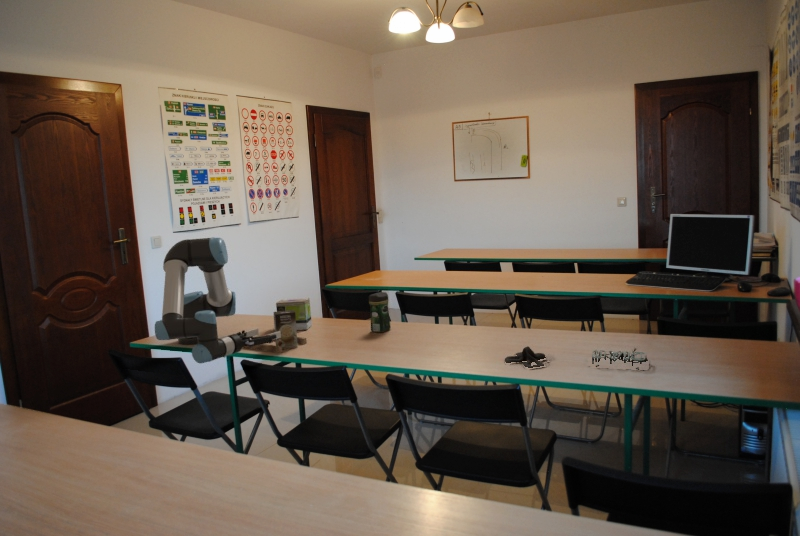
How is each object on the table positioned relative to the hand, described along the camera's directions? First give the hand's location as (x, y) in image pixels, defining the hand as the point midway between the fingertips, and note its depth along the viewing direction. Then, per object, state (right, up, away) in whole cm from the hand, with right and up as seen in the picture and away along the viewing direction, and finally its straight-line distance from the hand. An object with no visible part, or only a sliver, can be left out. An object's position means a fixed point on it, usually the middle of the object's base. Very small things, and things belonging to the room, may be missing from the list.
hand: (268, 332), depth 250 cm
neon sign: (+138, -6, -33) cm, 142 cm away
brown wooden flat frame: (0, -7, +14) cm, 15 cm away
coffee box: (+6, -8, +10) cm, 14 cm away
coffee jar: (+47, -3, +31) cm, 56 cm away
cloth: (+106, -8, -30) cm, 110 cm away
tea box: (+3, -3, +46) cm, 46 cm away
